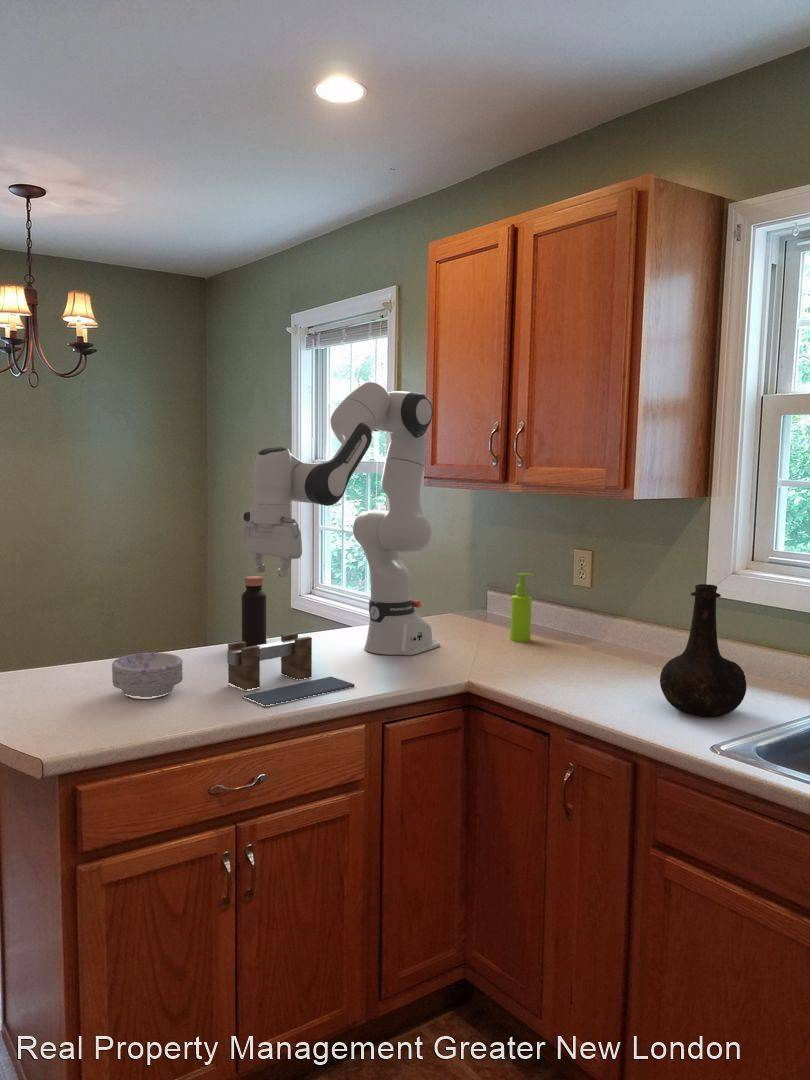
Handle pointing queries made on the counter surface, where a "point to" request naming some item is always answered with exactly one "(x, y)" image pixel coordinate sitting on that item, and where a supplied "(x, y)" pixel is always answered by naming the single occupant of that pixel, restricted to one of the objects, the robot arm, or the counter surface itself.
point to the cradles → (290, 665)
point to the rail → (265, 651)
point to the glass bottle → (703, 666)
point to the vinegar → (254, 612)
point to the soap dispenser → (521, 611)
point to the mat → (299, 690)
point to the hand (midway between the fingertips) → (271, 574)
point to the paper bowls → (147, 673)
